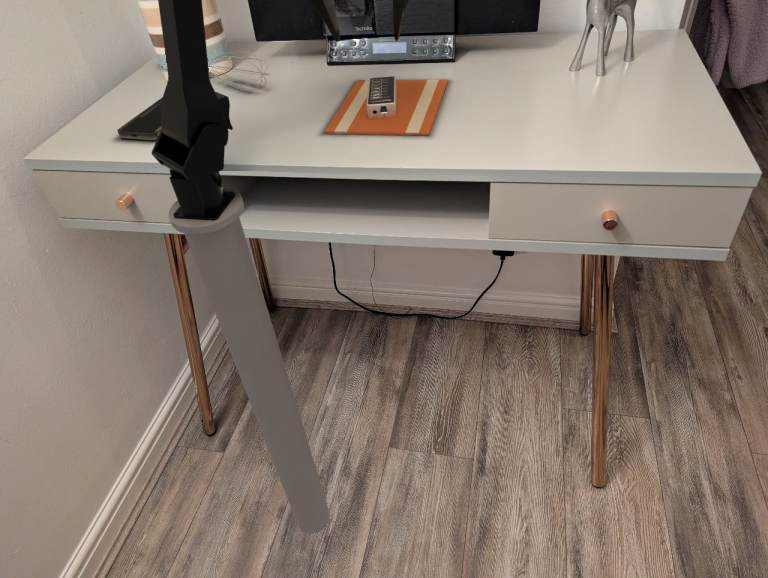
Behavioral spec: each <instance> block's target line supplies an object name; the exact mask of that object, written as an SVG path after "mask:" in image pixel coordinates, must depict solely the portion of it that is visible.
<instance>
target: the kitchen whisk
mask: <svg viewBox="0 0 768 578" xmlns="http://www.w3.org/2000/svg"><path fill="white" fill-rule="evenodd" d="M237 53H238V54H239V53H241V51H233V52H228V53H223V54H220V55H217V56H215V57H213V58H209V59H210V60H211V61H213V60H215V61H216V62H225V61H233V60H243V61H246V62H247V63H250V64H251V65H252V66H254V68H256V69H257V70H258V71H254V70H246V69H241V68H235V67H234V68H233V67H226V66H219V65H216V66H217V67H214V66H213V67H212V66H208V67H212V69H219V70H223V71H229V72H234V73H235V72H236V73H241V74H248V75H249V74H250V75H259V76H260V77H258V78H257V79H256V80H254V81H252V82H250V83H248V82H245V81H241V80H239V79H236V78H233V77H231V76H228V75H226V74H224V73H222V72H219V71H217V70H215V71H214V72H215V73H218V74H220V75H222V76H225V77H227V78H229V79H232V80H235V81H237V82H240V83H241V84H235V83H231V82H229V81H226V80H223V79H222V78H220V77H219V76H217V75H216V74H215V73H213V71H210V72H211V73H210V72H209V74H210V75H212V76H213V77H215V78H216V79H218V80H220V81H222V82H223V83H225V84H227V85H229V86H231V87H232V88H234V89H237V90H240V91H243V92H255V91H256V90H258V89H259V87H261V85H262V83H263V79H264V81H265V82H264V83H265V84H263V85H262V87H265V86H266V85H267V79H266V77H265V76H271V74H270V73H267V70H268V68H269V67H268V66H269V65H268V63H267V62H266V61H265V60H263V59H262V58H261V59H260V58H259V57H257V55H256V54H253V53H251V52H247V51H242V53H243V54H244V53H245V54H250V55H252V56H254V57H255V58H254V57H239V56H233V55H231V54H237ZM219 58H220V59H221V58H228V59H221V60H216V59H219ZM250 60H257V61H258V62H259V65H260V68H261V70H260V69H259V68H258V66H256V65H255V64H254V63H252V62H251V61H250ZM208 61H209V60H208ZM216 62H215V63H216ZM261 62H264V63H265V64H266V69H265V70H264V72H263V71H262V70H263V64H262V63H261ZM259 80H260V83H259V84H258V85H256V84H254V83H256V82H258V81H259ZM242 83H243V84H242ZM236 86H240V87H242V86H243V87H244V86H253V87H256V88H254V89H249V90H248V89H242V88H239V87H236Z"/></svg>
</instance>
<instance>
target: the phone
mask: <svg viewBox="0 0 768 578" xmlns="http://www.w3.org/2000/svg"><path fill="white" fill-rule="evenodd" d="M162 98H163V96H162V97H161V98H159V99H158V100H157V101H154V102H153V103H152V104H151V105H149V106H148V107H147V108H145V109H144V110H142V111H141V112H140V113H139V114H137V115H136V116H135V117H133V118H131V119H130V120H129V121H127V122H126V123H125V124H124V125H122V126H120V127H119V128H118V129H117V133H118V134H117V135H118V136H119V139H122V140H137V141H150V142H151V141H157V139H158V136H159V134H160V132H161V129H162V128H161V106H162Z"/></svg>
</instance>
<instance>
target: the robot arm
mask: <svg viewBox="0 0 768 578" xmlns="http://www.w3.org/2000/svg"><path fill="white" fill-rule="evenodd" d="M157 2H158V9H159V17H160V18H159V19H160V24H161V25H160V26H161V33H162V39H163V48H164V51H165V55H166V63H167V66H166V69H167V83H166V85H165V88H164V92H163V94H162V97H163V98H162V97H161V98H162V106H161V128H162V129H161V132H160V134H159V136H158V139H157V140H155V143H154V145H153V148H152V151H151V156H153V158H154V159H155V160H156V161H157V162H158V164H160V165H161V166H164V167H166V168H167V169H169V175H170V176H169V181H170V185H171V186H172V189H173V191H174V195H175V197H176V201H177V200H178V202H179V205H180V207H179V208H178V209H177V210H176V212H175V213H174V214H173V216H174V218H176V219H193V220H211V221H215V220H218V219H219V217H220V216H221V215H222V213H223V212H224V211H225V209H226V208H227V207H228V205H229V204H230V203H231V201H232V200H233V199H234V197H235V196H236V195H235V192H228V191H224V187H225V186H222V184H223V182H222V181H223V180H222V177H221V174H220V172H221V171H223V170H224V168H225V152H226V151H225V147H226V146H227V145H228V142H229V136H230V133H229V130H230V131H233V130H234V127H233V125H232V123H231V118H230V109H231V102H230V98H229V96H227V95H225V94H222V93H221V92H218V91H216V90H215V88H214V86H213V84H212V82H211V78H210V73H209V68H208V58H209V57H208V50H207V38H206V27H205V18H204V17H205V16H204V8H203V7H204V6H203V0H157ZM304 2H309V3H310V4H311V6H312V7H313V8H314V9H315V10H316V12H317V13H318V15H319V16H320V18H321V19H322V21H323V22H324V24H325V26H326V27H327V30H328V31H329V32H330V34H331V36H332V38H333V40H334V41H335V42H336V43H338V42H340V41H341V33H340V24H339V21H338V15H337V11H336V4H335V0H304ZM409 2H410V0H392V22H393V23H392V26H393V36H394V37H393V38H394V41H395V42H398V41H399V40H400V35H401V31H402V27H403V23H404V19H405V15H406V10H407V8H408V4H409Z"/></svg>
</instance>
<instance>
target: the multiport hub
mask: <svg viewBox="0 0 768 578" xmlns="http://www.w3.org/2000/svg"><path fill="white" fill-rule="evenodd" d="M396 78H397V77H396V76H394V75H393V76H381V77H371V78H369V79H368V80H369V86H368V96H367V112H368V119H381V118H393V117H396V114H397V89H396V80H397V79H396Z"/></svg>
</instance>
